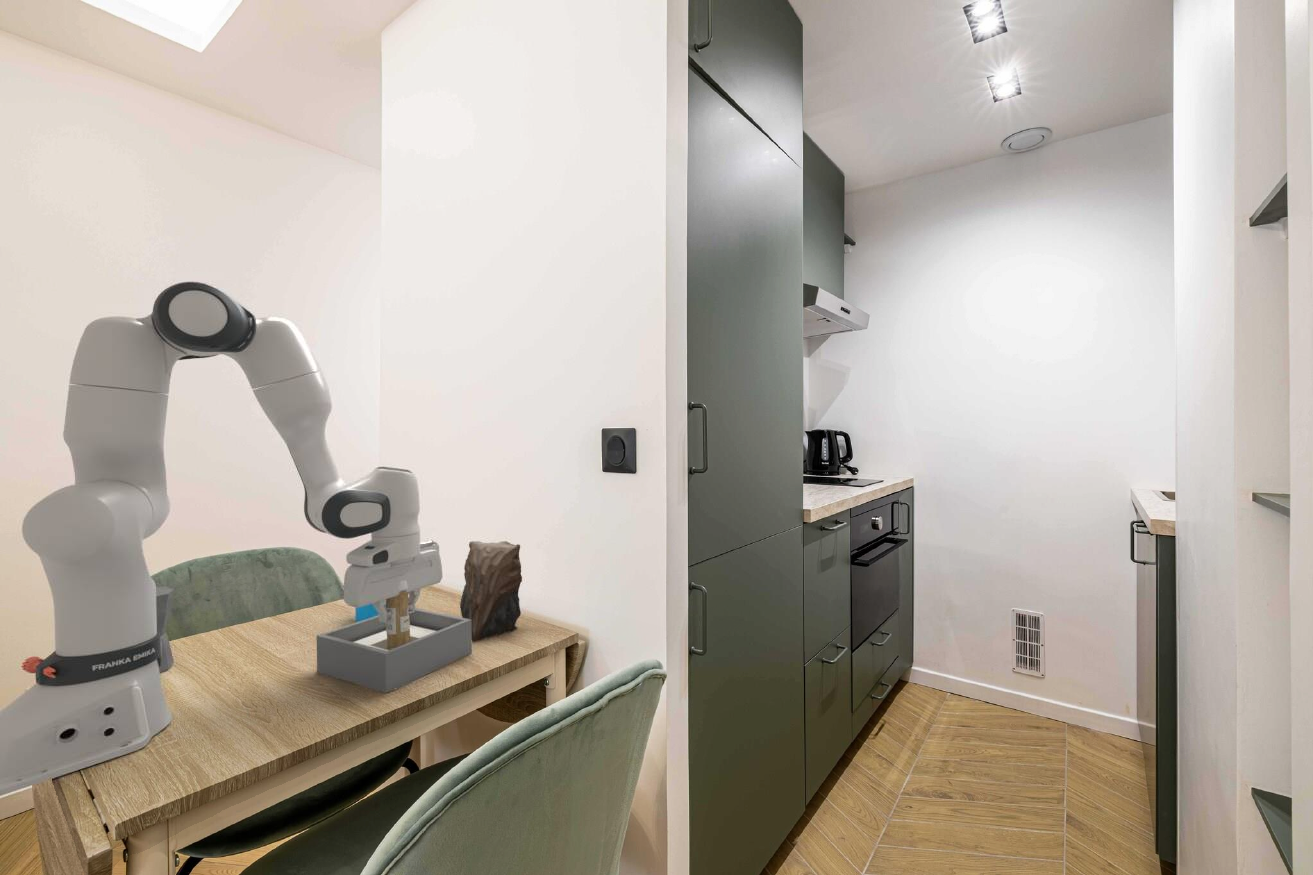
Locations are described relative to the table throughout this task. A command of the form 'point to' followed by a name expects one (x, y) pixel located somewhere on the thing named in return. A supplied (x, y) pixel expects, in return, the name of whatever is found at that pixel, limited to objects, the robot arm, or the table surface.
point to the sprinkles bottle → (398, 618)
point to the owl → (491, 588)
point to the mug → (366, 612)
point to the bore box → (393, 650)
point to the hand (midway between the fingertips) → (397, 616)
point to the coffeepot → (162, 613)
